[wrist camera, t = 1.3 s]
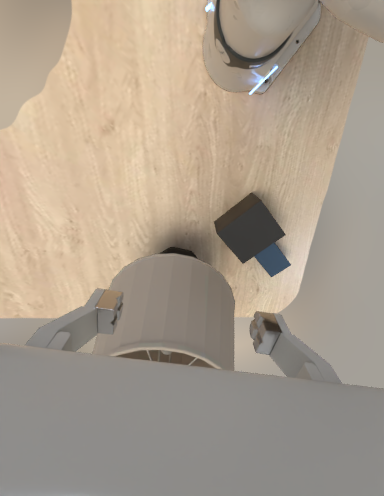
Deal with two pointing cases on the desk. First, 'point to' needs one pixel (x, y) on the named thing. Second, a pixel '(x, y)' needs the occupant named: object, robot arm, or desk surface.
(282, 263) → the box
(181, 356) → the table lamp
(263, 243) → the cabinet
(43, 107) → the desk surface
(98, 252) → the desk surface
